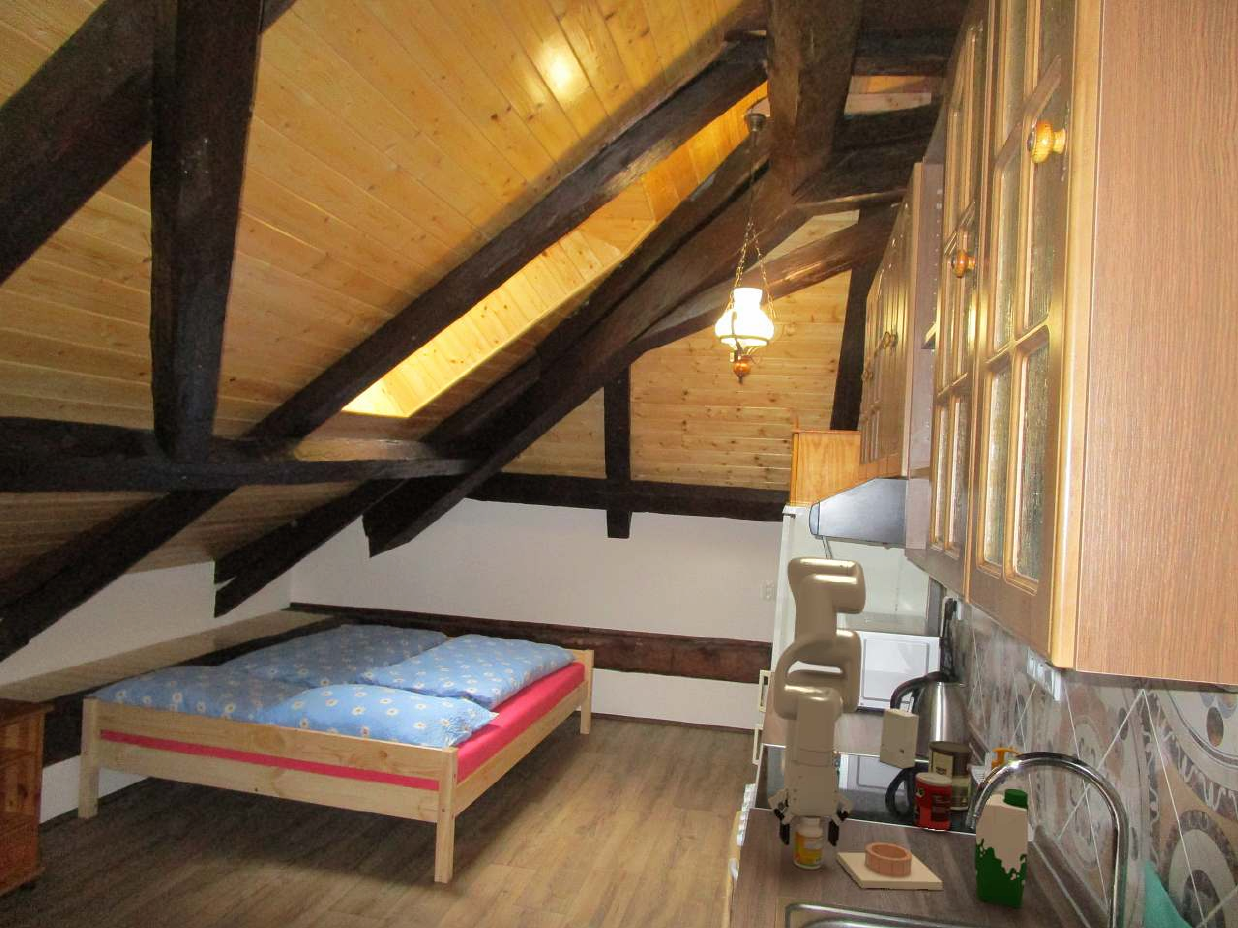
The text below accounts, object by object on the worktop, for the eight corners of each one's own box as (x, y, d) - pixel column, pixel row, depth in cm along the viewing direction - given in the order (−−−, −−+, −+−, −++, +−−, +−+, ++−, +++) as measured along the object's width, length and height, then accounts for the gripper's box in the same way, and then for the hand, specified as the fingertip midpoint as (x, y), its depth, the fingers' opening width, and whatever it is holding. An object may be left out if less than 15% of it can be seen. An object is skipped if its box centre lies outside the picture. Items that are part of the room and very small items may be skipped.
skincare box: (878, 761, 254) (881, 708, 255) (891, 758, 258) (894, 707, 259) (904, 769, 248) (906, 715, 248) (916, 766, 251) (919, 713, 252)
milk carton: (1025, 911, 162) (1031, 801, 163) (972, 900, 165) (977, 791, 166) (1023, 893, 170) (1029, 787, 171) (973, 882, 173) (978, 779, 174)
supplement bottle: (792, 857, 180) (795, 809, 180) (819, 860, 179) (822, 811, 180) (794, 868, 175) (797, 818, 175) (822, 871, 174) (825, 821, 174)
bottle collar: (858, 857, 178) (859, 841, 179) (899, 858, 179) (900, 843, 180) (875, 875, 170) (876, 859, 170) (918, 876, 171) (919, 860, 171)
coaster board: (836, 859, 180) (837, 852, 180) (912, 861, 182) (912, 854, 182) (861, 888, 167) (861, 880, 167) (941, 889, 169) (942, 881, 169)
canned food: (918, 817, 209) (921, 770, 210) (953, 826, 205) (956, 778, 205) (908, 825, 203) (911, 777, 203) (944, 835, 198) (947, 785, 199)
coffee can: (969, 800, 224) (971, 744, 225) (971, 813, 214) (974, 754, 215) (925, 793, 227) (928, 738, 228) (926, 805, 218) (929, 747, 218)
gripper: (848, 752, 182) (843, 837, 182) (766, 749, 181) (761, 834, 180) (862, 763, 175) (857, 851, 174) (776, 760, 173) (771, 849, 172)
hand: (808, 843), depth 177 cm, fingers open, 9 cm apart
